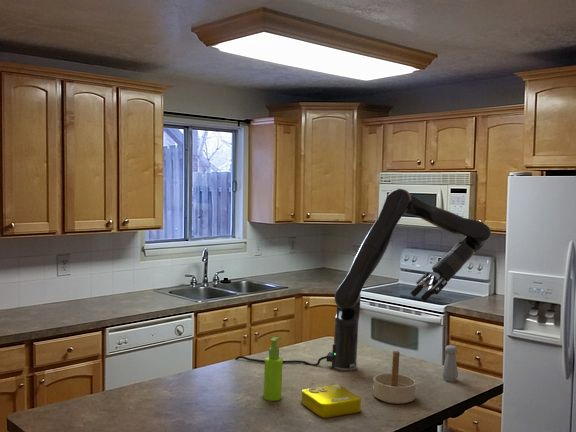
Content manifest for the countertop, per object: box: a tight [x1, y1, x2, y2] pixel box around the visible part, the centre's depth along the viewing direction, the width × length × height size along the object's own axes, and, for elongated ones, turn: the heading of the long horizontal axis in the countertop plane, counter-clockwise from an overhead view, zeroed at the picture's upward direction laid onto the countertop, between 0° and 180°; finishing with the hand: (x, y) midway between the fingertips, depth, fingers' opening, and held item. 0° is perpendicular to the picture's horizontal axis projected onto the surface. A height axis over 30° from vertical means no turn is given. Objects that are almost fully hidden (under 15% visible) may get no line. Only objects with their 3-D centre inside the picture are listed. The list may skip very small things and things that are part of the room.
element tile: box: [301, 383, 362, 419], centre depth 189 cm, size 15×15×5 cm
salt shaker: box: [441, 344, 459, 383], centre depth 220 cm, size 6×6×13 cm
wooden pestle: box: [388, 350, 401, 387], centre depth 200 cm, size 4×4×15 cm
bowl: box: [372, 372, 417, 405], centre depth 200 cm, size 14×14×6 cm
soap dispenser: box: [263, 336, 284, 402], centre depth 196 cm, size 6×7×20 cm
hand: (417, 297), depth 210 cm, fingers open, 8 cm apart
